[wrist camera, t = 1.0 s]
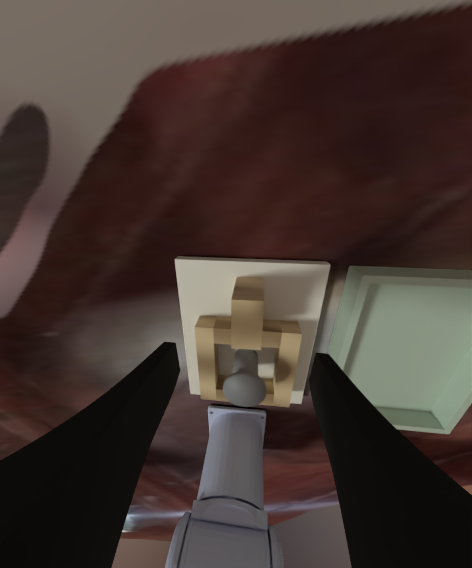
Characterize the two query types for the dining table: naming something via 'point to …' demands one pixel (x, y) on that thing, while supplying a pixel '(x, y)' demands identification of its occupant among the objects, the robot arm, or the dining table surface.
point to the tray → (408, 343)
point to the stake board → (278, 306)
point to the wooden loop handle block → (248, 343)
